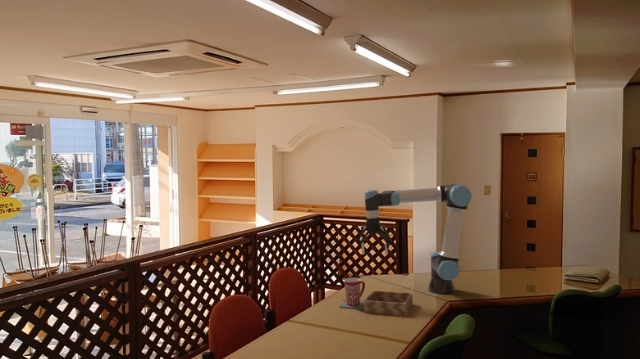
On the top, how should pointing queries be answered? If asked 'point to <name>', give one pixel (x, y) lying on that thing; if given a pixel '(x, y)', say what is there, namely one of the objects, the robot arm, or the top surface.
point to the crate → (388, 302)
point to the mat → (360, 306)
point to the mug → (353, 291)
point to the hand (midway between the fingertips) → (374, 254)
